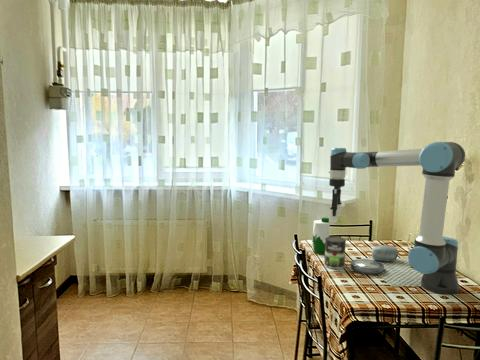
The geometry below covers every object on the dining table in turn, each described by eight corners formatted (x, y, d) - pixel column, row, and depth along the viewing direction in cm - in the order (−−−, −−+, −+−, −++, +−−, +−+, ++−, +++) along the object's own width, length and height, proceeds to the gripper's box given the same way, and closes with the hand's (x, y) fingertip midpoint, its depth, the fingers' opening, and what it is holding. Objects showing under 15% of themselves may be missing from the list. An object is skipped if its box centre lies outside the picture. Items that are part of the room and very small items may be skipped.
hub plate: (390, 272, 187) (391, 266, 186) (366, 276, 180) (366, 271, 180) (367, 262, 201) (367, 257, 201) (343, 266, 194) (344, 261, 194)
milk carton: (329, 254, 214) (331, 220, 212) (313, 254, 214) (314, 219, 212) (326, 249, 223) (328, 216, 220) (311, 249, 223) (312, 216, 221)
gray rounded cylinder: (396, 251, 209) (394, 238, 204) (401, 264, 201) (399, 251, 196) (370, 255, 212) (368, 242, 207) (374, 268, 205) (372, 255, 200)
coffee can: (344, 270, 189) (345, 242, 187) (323, 267, 192) (324, 240, 191) (345, 263, 199) (346, 237, 197) (325, 261, 202) (326, 235, 200)
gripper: (332, 175, 203) (330, 214, 206) (326, 180, 180) (324, 224, 182) (346, 176, 201) (345, 215, 203) (342, 181, 177) (340, 225, 180)
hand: (335, 219), depth 193 cm, fingers open, 13 cm apart
